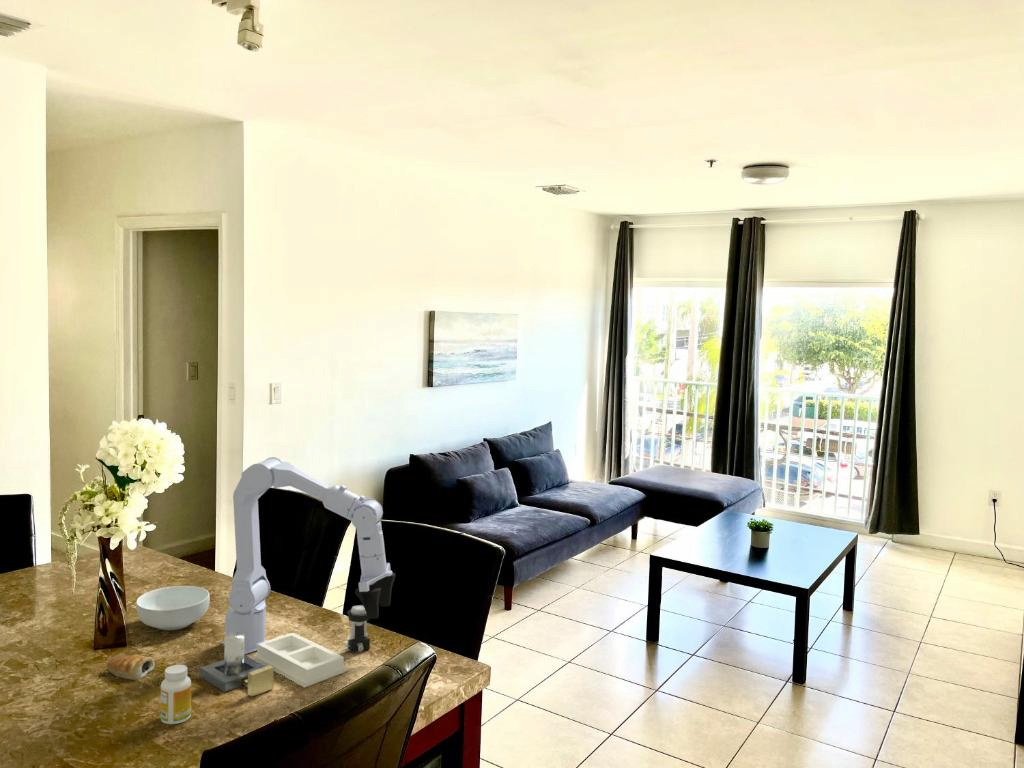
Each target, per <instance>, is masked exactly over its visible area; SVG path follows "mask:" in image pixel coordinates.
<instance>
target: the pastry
mask: <svg viewBox="0 0 1024 768" xmlns="http://www.w3.org/2000/svg"><path fill="white" fill-rule="evenodd" d="M154 668H155V660H154V659H153V657H151V655H150V656H144V655H141V654H133V655H125V656H121V657H120V656H119V657H118V658H115V659H114V658H113V659H111V660H110V661H108V662H107V663H106V670H107V671H108V672H109V673H110V674H113V675H114V676H116V677H117V678H122V679H126V680H139V679H142V678H144V677H145V676H146V675H147V674H149V673H150V672H151V671H153V670H154Z"/></svg>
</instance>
